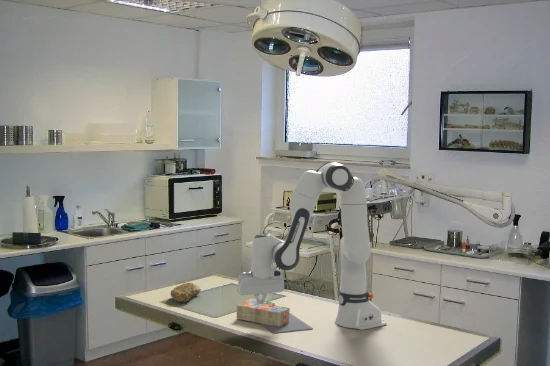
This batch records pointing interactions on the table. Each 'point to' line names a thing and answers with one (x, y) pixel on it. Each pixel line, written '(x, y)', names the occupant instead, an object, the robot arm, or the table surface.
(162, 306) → the table surface
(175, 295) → the brown rock
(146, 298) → the table surface
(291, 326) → the mat
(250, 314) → the stack of blocks
